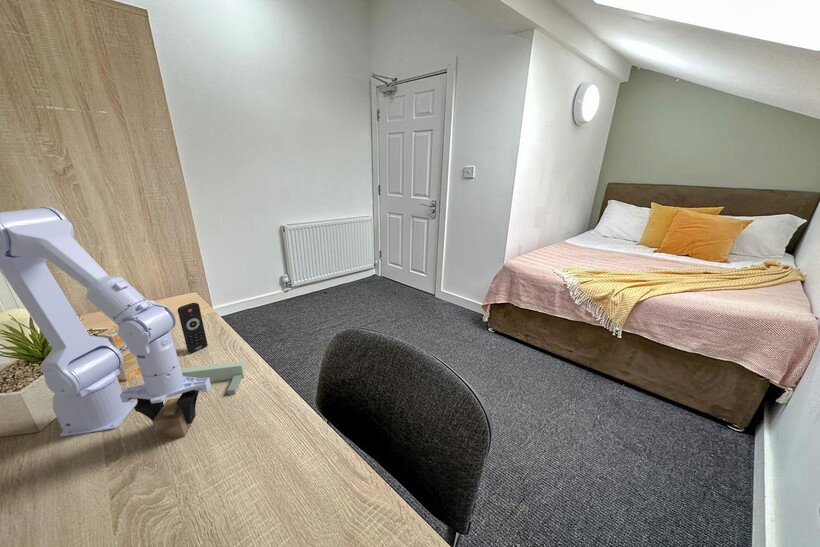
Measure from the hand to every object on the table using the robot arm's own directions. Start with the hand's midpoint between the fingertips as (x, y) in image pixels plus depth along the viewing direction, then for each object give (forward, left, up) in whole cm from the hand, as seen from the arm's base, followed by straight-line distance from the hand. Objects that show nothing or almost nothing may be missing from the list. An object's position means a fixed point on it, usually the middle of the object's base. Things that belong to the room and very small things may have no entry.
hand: (177, 422), depth 63 cm
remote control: (-7, +30, -2) cm, 31 cm away
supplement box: (-19, +23, -2) cm, 30 cm away
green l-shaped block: (+1, +15, -1) cm, 15 cm away
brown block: (0, 0, -1) cm, 1 cm away
